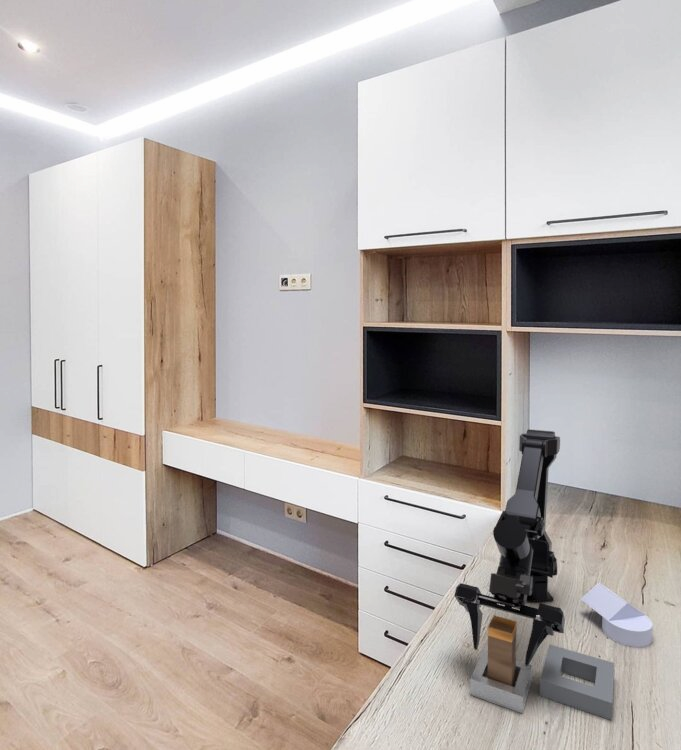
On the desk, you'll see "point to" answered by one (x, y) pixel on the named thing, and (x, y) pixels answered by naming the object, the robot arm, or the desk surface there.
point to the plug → (502, 650)
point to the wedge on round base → (619, 617)
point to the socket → (573, 691)
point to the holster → (501, 685)
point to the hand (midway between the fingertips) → (500, 657)
